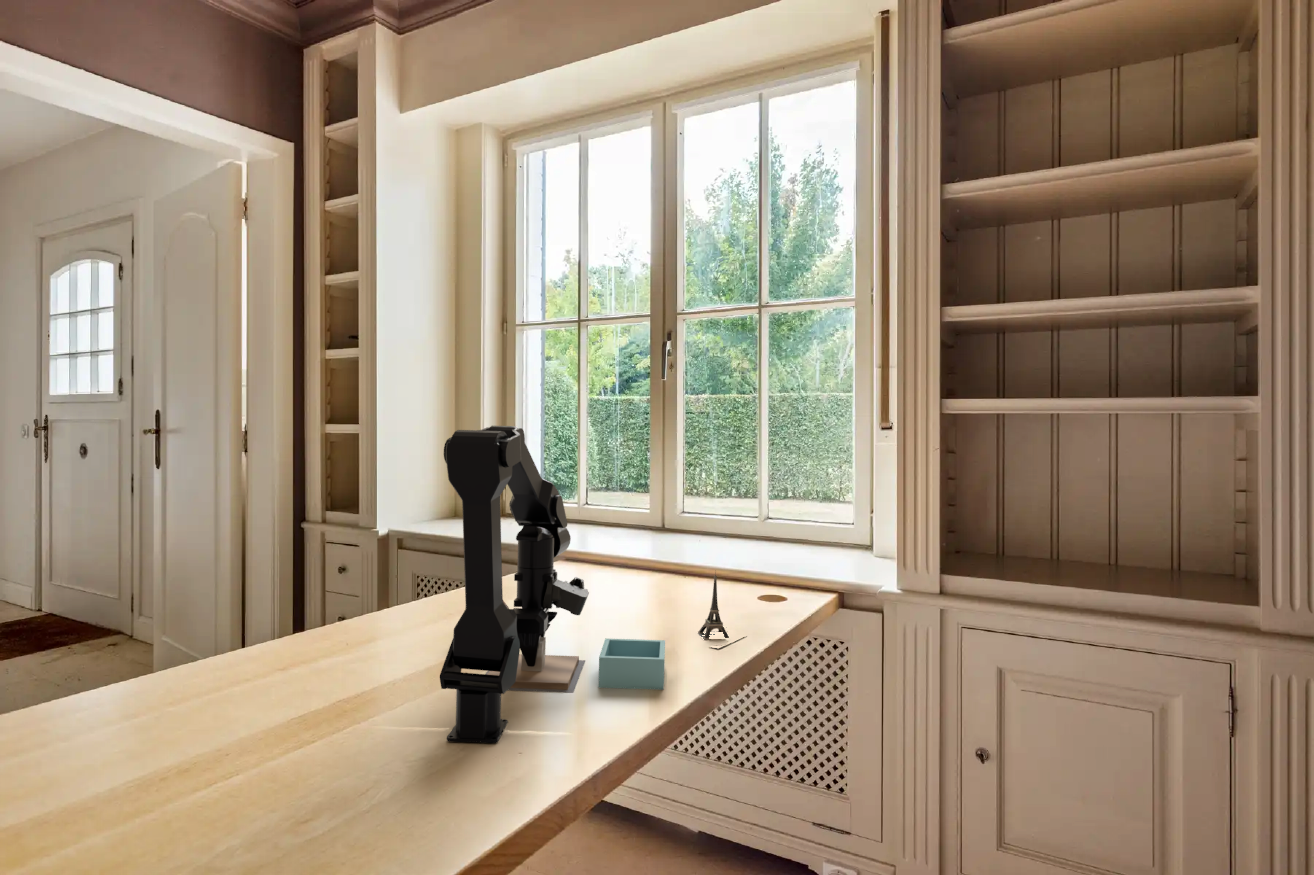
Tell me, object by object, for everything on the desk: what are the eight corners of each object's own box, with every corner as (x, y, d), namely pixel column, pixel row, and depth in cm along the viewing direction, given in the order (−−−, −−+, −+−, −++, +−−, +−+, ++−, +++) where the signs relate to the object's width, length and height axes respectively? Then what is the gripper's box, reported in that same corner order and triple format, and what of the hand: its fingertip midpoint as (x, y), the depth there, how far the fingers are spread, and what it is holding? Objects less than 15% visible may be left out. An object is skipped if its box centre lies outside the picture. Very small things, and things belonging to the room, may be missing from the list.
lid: (567, 689, 112) (568, 653, 112) (482, 687, 112) (483, 651, 112) (578, 662, 125) (579, 629, 125) (502, 659, 125) (503, 627, 125)
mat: (573, 695, 111) (573, 692, 111) (474, 691, 111) (474, 689, 111) (585, 662, 126) (585, 660, 126) (497, 659, 126) (497, 657, 126)
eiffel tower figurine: (718, 653, 134) (721, 580, 134) (672, 643, 140) (674, 573, 140) (756, 635, 147) (758, 568, 146) (712, 626, 152) (713, 562, 152)
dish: (663, 692, 113) (664, 659, 113) (598, 689, 113) (599, 657, 113) (664, 670, 123) (665, 640, 123) (604, 668, 123) (605, 638, 123)
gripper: (578, 579, 108) (575, 684, 109) (592, 556, 127) (590, 646, 127) (502, 577, 109) (500, 682, 109) (527, 554, 127) (525, 644, 128)
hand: (533, 662), depth 118 cm, fingers closed on lid, 3 cm apart
